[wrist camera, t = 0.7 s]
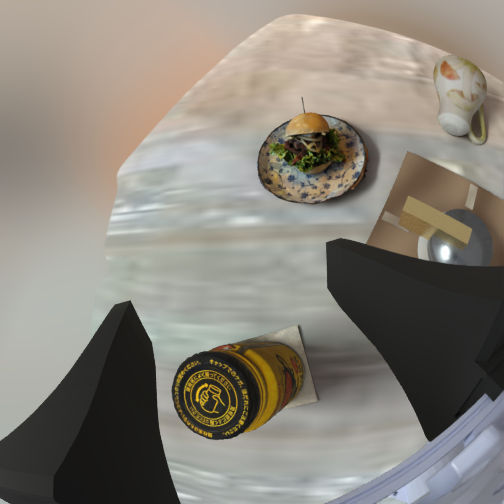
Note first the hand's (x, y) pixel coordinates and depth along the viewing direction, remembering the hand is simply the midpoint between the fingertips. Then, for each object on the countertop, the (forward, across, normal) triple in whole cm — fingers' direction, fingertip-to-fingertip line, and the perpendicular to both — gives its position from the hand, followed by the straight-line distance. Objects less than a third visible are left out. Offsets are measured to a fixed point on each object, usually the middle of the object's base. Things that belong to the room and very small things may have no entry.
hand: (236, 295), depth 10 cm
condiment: (+8, -2, +16) cm, 18 cm away
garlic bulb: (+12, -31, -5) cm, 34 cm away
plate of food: (+19, -14, +1) cm, 24 cm away
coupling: (+5, -19, +6) cm, 20 cm away
